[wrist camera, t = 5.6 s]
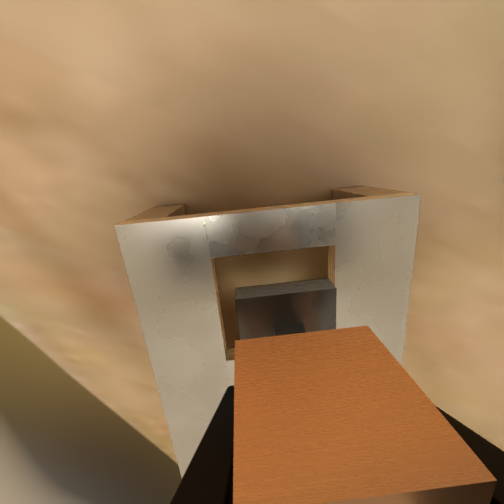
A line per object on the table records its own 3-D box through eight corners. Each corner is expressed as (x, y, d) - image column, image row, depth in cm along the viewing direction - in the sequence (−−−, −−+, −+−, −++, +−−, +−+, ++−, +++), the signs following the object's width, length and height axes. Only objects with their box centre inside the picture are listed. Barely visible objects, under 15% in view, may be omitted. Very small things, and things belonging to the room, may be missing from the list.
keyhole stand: (360, 185, 17) (421, 194, 12) (352, 390, 23) (390, 462, 17) (154, 206, 17) (114, 225, 11) (197, 409, 23) (185, 489, 17)
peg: (328, 278, 11) (497, 480, 4) (327, 354, 12) (454, 613, 5) (235, 288, 11) (232, 514, 4) (244, 363, 12) (256, 641, 5)
